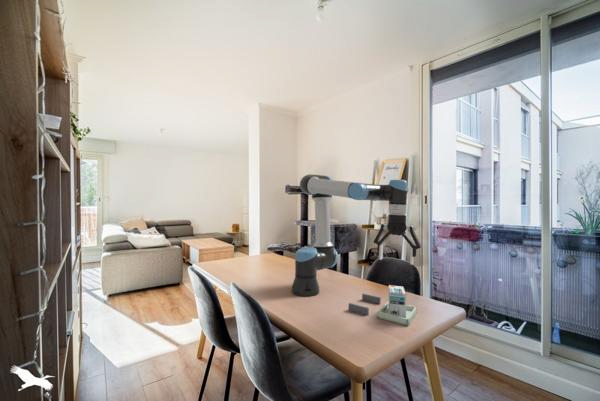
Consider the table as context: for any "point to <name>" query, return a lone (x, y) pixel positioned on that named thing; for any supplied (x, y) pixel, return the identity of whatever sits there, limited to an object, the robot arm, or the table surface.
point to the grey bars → (361, 308)
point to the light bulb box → (397, 301)
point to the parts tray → (385, 315)
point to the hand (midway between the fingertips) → (395, 261)
